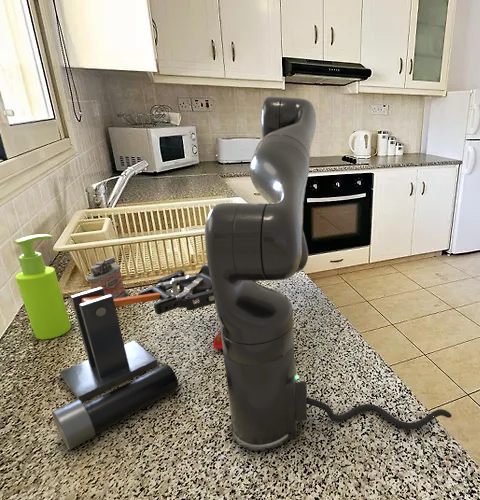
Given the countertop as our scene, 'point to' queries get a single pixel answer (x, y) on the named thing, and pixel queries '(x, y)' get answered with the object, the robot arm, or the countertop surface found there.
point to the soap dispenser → (41, 292)
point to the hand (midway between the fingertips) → (147, 303)
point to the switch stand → (103, 348)
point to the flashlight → (112, 406)
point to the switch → (136, 297)
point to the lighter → (107, 278)
